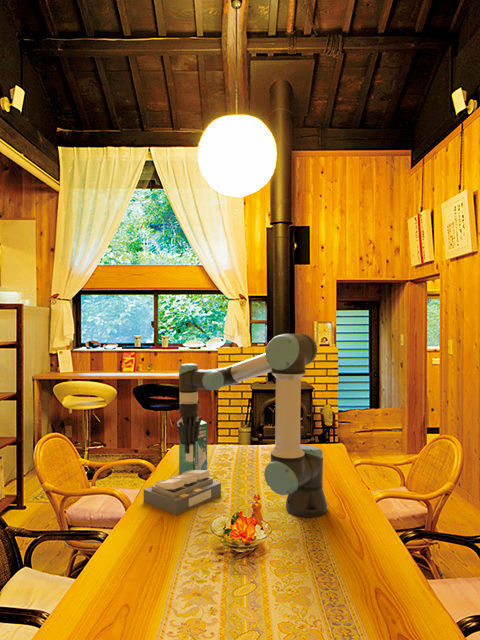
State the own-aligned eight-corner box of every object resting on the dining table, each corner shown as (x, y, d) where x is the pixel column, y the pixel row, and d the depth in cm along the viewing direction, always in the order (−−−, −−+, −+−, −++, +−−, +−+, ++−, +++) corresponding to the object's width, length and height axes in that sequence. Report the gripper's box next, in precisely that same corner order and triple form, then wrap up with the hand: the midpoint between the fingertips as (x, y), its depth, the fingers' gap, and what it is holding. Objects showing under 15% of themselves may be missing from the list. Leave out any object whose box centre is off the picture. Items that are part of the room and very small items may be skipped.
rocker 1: (184, 485, 174) (182, 478, 175) (174, 489, 170) (173, 482, 171) (166, 486, 180) (165, 479, 181) (156, 489, 176) (155, 482, 177)
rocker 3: (209, 476, 185) (208, 469, 186) (200, 479, 181) (199, 472, 182) (191, 476, 191) (190, 469, 192) (182, 479, 187) (182, 472, 188)
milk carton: (193, 478, 205) (193, 421, 205) (178, 473, 210) (179, 418, 210) (207, 472, 212) (207, 417, 212) (192, 468, 217) (192, 415, 217)
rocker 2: (197, 480, 180) (196, 473, 180) (187, 484, 176) (186, 477, 176) (179, 481, 186) (178, 474, 186) (170, 484, 182) (169, 477, 182)
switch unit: (221, 495, 185) (221, 478, 185) (176, 515, 166) (177, 496, 166) (188, 485, 196) (188, 469, 196) (143, 502, 177) (143, 485, 177)
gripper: (193, 399, 196) (194, 455, 196) (170, 403, 186) (171, 463, 186) (206, 400, 192) (207, 458, 191) (183, 405, 181) (184, 466, 181)
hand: (189, 460), depth 189 cm, fingers closed
